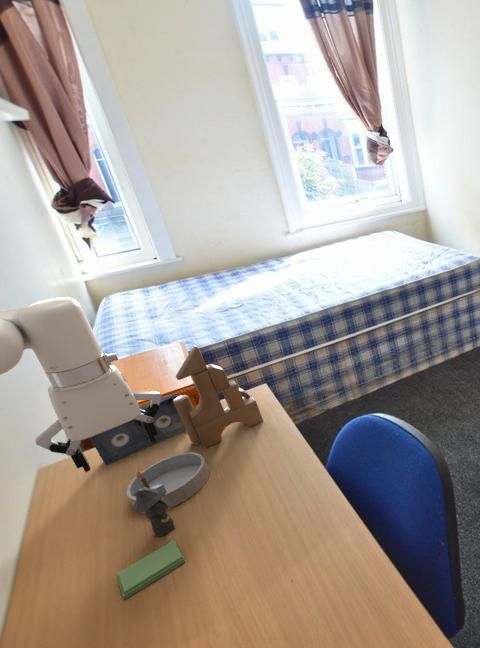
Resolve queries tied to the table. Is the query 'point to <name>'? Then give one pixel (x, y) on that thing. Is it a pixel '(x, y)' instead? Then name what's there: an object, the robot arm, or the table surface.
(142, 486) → the metal pan
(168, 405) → the vhs cassette tape
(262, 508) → the table surface
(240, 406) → the wooden toy
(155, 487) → the wizard figurine
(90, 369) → the robot arm
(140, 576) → the green rectangular block
